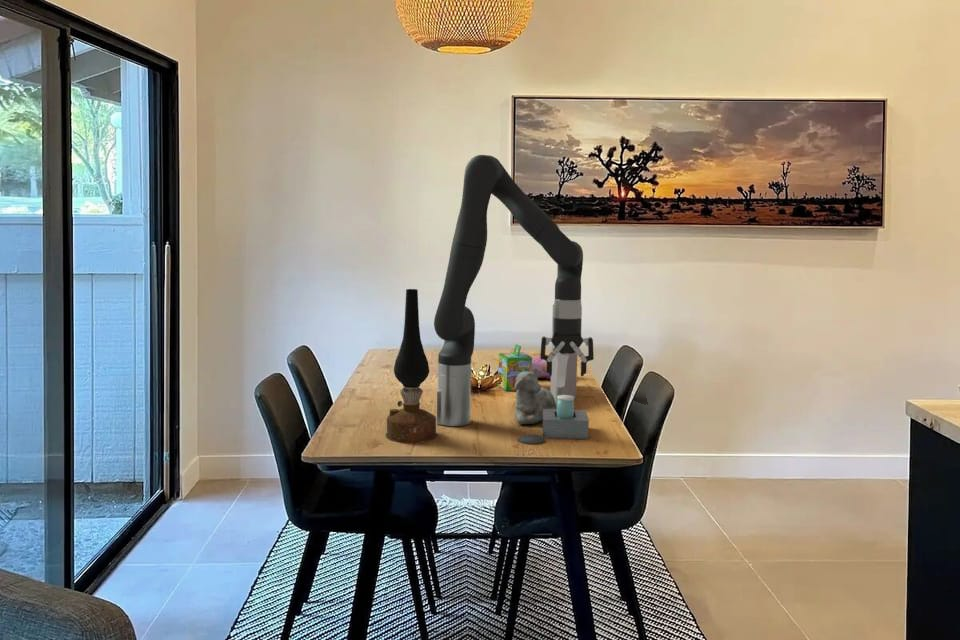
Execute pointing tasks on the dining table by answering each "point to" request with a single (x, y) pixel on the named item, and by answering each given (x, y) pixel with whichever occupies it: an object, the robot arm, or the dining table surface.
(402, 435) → the oil lamp
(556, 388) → the grey piece
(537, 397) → the sculpture
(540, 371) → the pencil case
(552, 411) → the housing
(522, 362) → the chalk box
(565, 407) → the teal canister
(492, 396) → the dining table surface
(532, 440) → the coaster
